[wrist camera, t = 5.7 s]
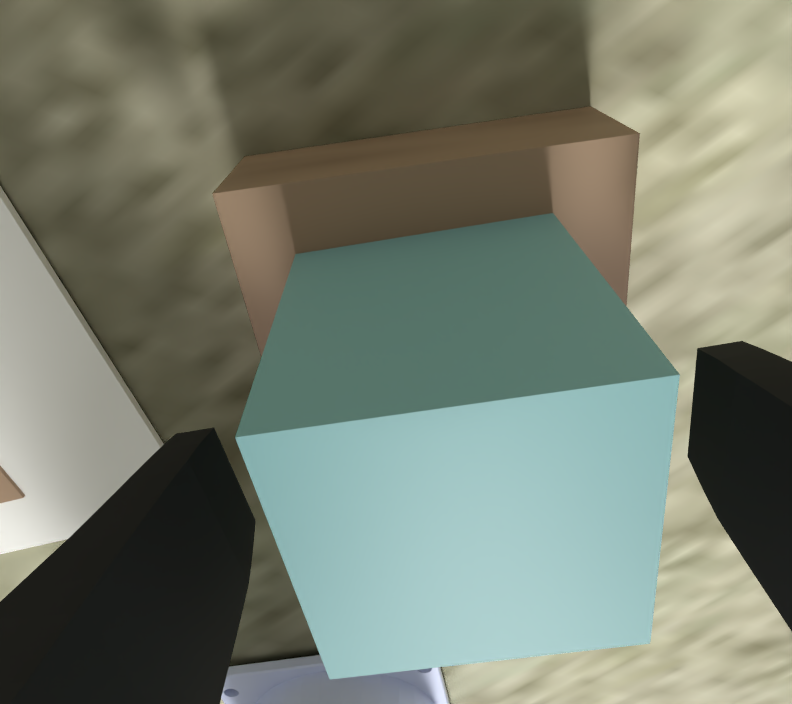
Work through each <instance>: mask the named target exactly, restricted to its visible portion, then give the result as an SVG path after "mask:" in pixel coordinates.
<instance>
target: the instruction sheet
mask: <svg viewBox="0 0 792 704" xmlns="http://www.w3.org/2000/svg"><path fill="white" fill-rule="evenodd" d="M163 445H164V443H163V442H162V440H161V439H160V437H159V436H158V434H157V432H156V431H155V429H154V428H153V426H152V425H151V423H150V421H149V420H148V418H147V417H146V415H145V414H144V412H143V410H142V409H141V407H140V406H139V404H138V402H137V401H136V399H135V398H134V396H133V395H132V393H131V391H130V390H129V388H128V387H127V385H126V384H125V382H124V380H123V379H122V377H121V376H120V374H119V372H118V371H117V369H116V368H115V366H114V365H113V363H112V361H111V360H110V358H109V357H108V355H107V354H106V352H105V350H104V349H103V347H102V346H101V344H100V342H99V341H98V339H97V338H96V336H95V335H94V333H93V331H92V330H91V328H90V327H89V325H88V324H87V322H86V320H85V319H84V317H83V316H82V314H81V313H80V311H79V309H78V308H77V306H76V305H75V303H74V301H73V300H72V298H71V297H70V295H69V294H68V292H67V290H66V289H65V287H64V286H63V284H62V283H61V281H60V279H59V278H58V276H57V275H56V273H55V271H54V270H53V268H52V267H51V265H50V264H49V262H48V260H47V259H46V257H45V256H44V254H43V253H42V251H41V249H40V248H39V246H38V245H37V243H36V241H35V240H34V238H33V237H32V235H31V234H30V232H29V230H28V229H27V227H26V226H25V224H24V223H23V221H22V219H21V218H20V216H19V215H18V213H17V212H16V210H15V208H14V207H13V205H12V204H11V202H10V200H9V199H8V197H7V196H6V194H5V193H4V191H3V189H2V188H1V186H0V554H3V553H8V552H12V551H17V550H21V549H25V548H30V547H34V546H39V545H43V544H48V543H52V542H57V541H61V540H66V539H69V538H70V537H71V536H72V535H73V534H74V533H75V532H76V531H77V530H78V529H79V528H80V527H81V526H82V525H83V524H84V523H85V522H86V521H87V520H88V519H89V518H90V517H91V516H92V515H93V514H94V513H95V512H96V511H97V510H98V509H99V508H100V507H101V506H102V505H103V504H104V503H105V502H106V501H107V500H108V499H109V498H110V497H111V496H112V495H113V494H114V493H115V492H116V491H117V490H118V489H119V488H120V487H121V486H122V485H123V484H124V483H125V482H126V481H127V480H128V479H129V478H130V477H131V476H132V475H133V474H134V473H135V472H136V471H137V470H138V469H139V468H140V467H141V466H142V465H143V464H144V463H145V462H146V461H147V460H148V459H149V458H150V457H151V456H152V455H153V454H154V453H155V452H156V451H157V450H159V449H160V448H161V447H162V446H163Z"/></svg>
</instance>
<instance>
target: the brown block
mask: <svg viewBox="0 0 792 704" xmlns="http://www.w3.org/2000/svg"><path fill="white" fill-rule="evenodd" d="M639 136H640V133H638V132H636V131H634V130H633V129H631V128H629V127H627V126H625V125H624V124H622V123H620V122H618V121H616V120H614V119H613V118H611V117H609V116H607V115H605V114H604V113H602V112H600V111H598V110H596V109H595V108H593V107H591V106H589V107H583V108H576V109H569V110H562V111H555V112H548V113H541V114H534V115H527V116H520V117H513V118H506V119H500V120H493V121H486V122H479V123H472V124H465V125H458V126H451V127H444V128H437V129H430V130H424V131H417V132H410V133H403V134H396V135H389V136H382V137H375V138H368V139H361V140H354V141H347V142H341V143H334V144H327V145H320V146H313V147H306V148H299V149H292V150H285V151H278V152H271V153H264V154H258V155H251V156H244V158H243V159H242V160H241V161H240V162H239V163H238V165H237V166H236V167H235V168H234V169H233V170H232V171H231V173H230V174H229V175H228V176H227V177H226V178H225V180H224V181H223V182H222V183H221V184H220V185H219V187H218V188H217V189H216V190H215V191H214V192H213V193H212V194H213V198H214V201H215V204H216V208H217V211H218V214H219V218H220V221H221V224H222V228H223V231H224V234H225V238H226V241H227V244H228V248H229V251H230V254H231V258H232V261H233V264H234V268H235V271H236V274H237V278H238V281H239V284H240V288H241V291H242V294H243V298H244V301H245V304H246V308H247V311H248V314H249V318H250V321H251V324H252V328H253V331H254V334H255V338H256V341H257V344H258V348H259V351H260V354H261V357H262V354H263V351H264V348H265V345H266V342H267V339H268V336H269V333H270V330H271V327H272V324H273V321H274V318H275V315H276V312H277V309H278V306H279V303H280V300H281V297H282V294H283V291H284V288H285V285H286V281H287V278H288V275H289V272H290V269H291V266H292V263H293V260H294V257H295V254H299V253H306V252H312V251H318V250H324V249H331V248H337V247H343V246H349V245H355V244H362V243H368V242H374V241H380V240H387V239H393V238H399V237H405V236H411V235H418V234H424V233H430V232H436V231H443V230H449V229H455V228H461V227H467V226H474V225H480V224H486V223H493V222H499V221H505V220H512V219H518V218H524V217H531V216H537V215H543V214H550V213H553V214H554V215H555V216H556V217H557V219H558V220H559V221H560V222H561V224H562V225H563V226H564V228H565V229H566V230H567V231H568V233H569V234H570V235H571V237H572V238H573V239H574V240H575V242H576V243H577V244H578V245H579V247H580V248H581V249H582V251H583V252H584V253H585V254H586V256H587V257H588V258H589V260H590V261H591V262H592V263H593V265H594V266H595V267H596V268H597V270H598V271H599V272H600V274H601V275H602V276H603V277H604V279H605V280H606V281H607V283H608V284H609V285H610V286H611V288H612V289H613V290H614V291H615V293H616V294H617V295H618V297H619V298H620V299H621V300H622V302H623V303H624V304H625V305H626V304H627V291H628V278H629V265H630V252H631V239H632V226H633V214H634V201H635V188H636V175H637V162H638V149H639Z"/></svg>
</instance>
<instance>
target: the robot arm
mask: <svg viewBox="0 0 792 704" xmlns="http://www.w3.org/2000/svg"><path fill="white" fill-rule="evenodd" d="M688 458H689V460H690V462H691V464H692V467H693V469H694V471H695V473H696V475H697V477H698V480H699V482H700V484H701V486H702V488H703V490H704V492H705V494H706V496H707V498H708V500H709V502H710V504H711V506H712V508H713V510H714V512H715V514H716V516H717V518H718V519H719V521H720V523H721V524H722V526H723V527H724V529H725V530H726V532H727V534H728V535H729V537H730V538H731V540H732V541H733V543H734V544H735V546H736V547H737V549H738V550H739V552H740V554H741V555H742V557H743V558H744V560H745V561H746V563H747V564H748V566H749V567H750V569H751V570H752V572H753V573H754V575H755V576H756V578H757V579H758V581H759V582H760V584H761V585H762V587H763V589H764V590H765V592H766V593H767V595H768V596H769V598H770V599H771V601H772V602H773V604H774V605H775V607H776V608H777V610H778V611H779V613H780V614H781V616H782V617H783V619H784V620H785V622H786V623H787V625H788V626H789V628H790V629H791V631H792V362H791V361H789V360H786V359H784V358H782V357H780V356H777V355H775V354H773V353H770V352H768V351H766V350H763V349H761V348H759V347H756V346H753V345H751V344H748V343H746V342H743V341H739V342H733V343H727V344H721V345H715V346H709V347H703V348H698V349H697V360H696V371H695V381H694V392H693V403H692V414H691V425H690V436H689V447H688ZM254 532H255V518H254V516H253V514H252V512H251V510H250V507H249V505H248V503H247V501H246V498H245V496H244V494H243V492H242V489H241V487H240V485H239V483H238V480H237V478H236V476H235V474H234V471H233V469H232V467H231V465H230V463H229V460H228V458H227V456H226V454H225V451H224V449H223V447H222V445H221V442H220V440H219V438H218V436H217V433H216V431H215V429H214V428H209V429H203V430H197V431H190V432H184V433H178V434H175V435H174V436H173V437H172V438H171V439H170V440H168V441H167V442H166V443H165V444H164V445H163V446H162V447H161V448H160V449H159V450H157V451H156V452H155V453H154V454H153V455H152V456H151V457H150V458H149V459H148V460H147V461H146V462H145V463H144V464H143V465H142V466H141V467H140V468H139V469H138V470H137V471H136V472H135V473H134V474H133V475H132V476H131V477H130V478H129V479H128V480H127V481H126V482H125V483H124V484H123V485H122V486H121V487H120V488H119V489H118V490H117V491H116V492H115V493H114V494H113V495H112V496H111V497H110V498H109V499H108V500H107V501H106V502H105V503H104V504H103V505H102V506H101V507H100V508H99V509H98V510H97V511H96V512H95V513H94V514H93V515H92V516H91V517H90V518H89V519H88V520H87V521H86V522H85V523H84V524H83V525H82V526H81V527H80V528H79V529H78V530H77V531H76V532H75V533H74V534H73V535H72V536H71V537H70V538H69V539H67V540H66V541H65V542H64V543H63V544H62V545H61V546H60V547H59V548H58V549H57V550H56V551H55V552H54V553H53V554H51V555H50V556H49V557H48V558H47V559H46V560H45V561H44V562H43V563H42V564H41V565H40V566H38V567H37V568H36V569H35V570H34V571H33V572H32V573H31V574H30V575H29V576H28V577H27V578H26V579H24V580H23V581H22V582H21V583H20V584H19V585H18V586H17V587H16V588H15V589H14V590H13V591H12V592H10V593H9V594H8V595H7V596H6V597H5V598H4V599H3V600H2V601H1V602H0V704H220V700H221V698H222V700H223V702H224V703H225V704H450V702H449V698H448V694H447V690H446V687H445V683H444V679H443V675H442V671H441V667H437V668H428V669H419V670H410V671H401V672H392V673H383V674H375V675H366V676H357V677H348V678H339V679H329V677H328V674H327V672H326V669H325V667H324V664H323V661H322V659H321V656H320V655H315V656H307V657H299V658H291V659H284V660H276V661H268V662H260V663H253V664H245V665H237V666H229V664H230V660H231V656H232V651H233V647H234V643H235V639H236V635H237V631H238V627H239V623H240V619H241V614H242V610H243V606H244V602H245V597H246V593H247V589H248V584H249V577H250V569H251V561H252V553H253V542H254Z"/></svg>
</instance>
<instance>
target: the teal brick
mask: <svg viewBox="0 0 792 704" xmlns="http://www.w3.org/2000/svg"><path fill="white" fill-rule="evenodd" d="M679 377H680V374H679V373H678V372H677V371H676V369H675V368H674V367H673V366H672V364H671V363H670V362H669V360H668V359H667V358H666V357H665V355H664V354H663V353H662V351H661V350H660V349H659V348H658V346H657V345H656V344H655V343H654V341H653V340H652V339H651V337H650V336H649V335H648V334H647V332H646V331H645V330H644V328H643V327H642V326H641V325H640V323H639V322H638V321H637V320H636V318H635V317H634V316H633V314H632V313H631V312H630V311H629V309H628V308H627V307H626V305H625V304H624V303H623V302H622V300H621V299H620V298H619V297H618V295H617V294H616V293H615V291H614V290H613V289H612V288H611V286H610V285H609V284H608V283H607V281H606V280H605V279H604V277H603V276H602V275H601V274H600V272H599V271H598V270H597V268H596V267H595V266H594V265H593V263H592V262H591V261H590V260H589V258H588V257H587V256H586V254H585V253H584V252H583V251H582V249H581V248H580V247H579V245H578V244H577V243H576V242H575V240H574V239H573V238H572V237H571V235H570V234H569V233H568V231H567V230H566V229H565V228H564V226H563V225H562V224H561V222H560V221H559V220H558V219H557V217H556V216H555V215H554V214H553V213H550V214H543V215H537V216H531V217H524V218H518V219H512V220H505V221H499V222H493V223H486V224H480V225H474V226H467V227H461V228H455V229H449V230H443V231H436V232H430V233H424V234H418V235H411V236H405V237H399V238H393V239H387V240H380V241H374V242H368V243H362V244H355V245H349V246H343V247H337V248H331V249H324V250H318V251H312V252H306V253H299V254H295V257H294V260H293V263H292V266H291V269H290V272H289V275H288V278H287V281H286V285H285V288H284V291H283V294H282V297H281V300H280V303H279V306H278V309H277V312H276V315H275V318H274V321H273V324H272V327H271V330H270V333H269V336H268V339H267V342H266V345H265V348H264V351H263V354H262V357H261V360H260V363H259V366H258V369H257V372H256V375H255V378H254V382H253V385H252V388H251V391H250V394H249V397H248V400H247V403H246V406H245V409H244V412H243V415H242V418H241V421H240V424H239V427H238V430H237V433H236V436H235V439H236V441H237V444H238V446H239V449H240V451H241V454H242V457H243V459H244V462H245V464H246V467H247V469H248V472H249V474H250V477H251V480H252V482H253V485H254V487H255V490H256V492H257V495H258V497H259V500H260V503H261V505H262V508H263V510H264V513H265V515H266V518H267V521H268V523H269V526H270V528H271V531H272V533H273V536H274V538H275V541H276V544H277V546H278V549H279V551H280V554H281V556H282V559H283V562H284V564H285V567H286V569H287V572H288V574H289V577H290V579H291V582H292V585H293V587H294V590H295V592H296V595H297V597H298V600H299V602H300V605H301V608H302V610H303V613H304V615H305V618H306V620H307V623H308V626H309V628H310V631H311V633H312V636H313V638H314V641H315V643H316V646H317V649H318V651H319V654H320V656H321V659H322V661H323V664H324V667H325V669H326V672H327V674H328V677H329V679H339V678H348V677H357V676H366V675H375V674H383V673H392V672H401V671H410V670H419V669H428V668H437V667H446V666H455V665H463V664H472V663H481V662H490V661H499V660H508V659H517V658H526V657H535V656H543V655H552V654H561V653H570V652H579V651H588V650H597V649H606V648H615V647H624V646H632V645H641V644H650V640H651V631H652V622H653V613H654V603H655V594H656V585H657V576H658V567H659V558H660V549H661V540H662V531H663V522H664V513H665V504H666V495H667V486H668V476H669V467H670V458H671V449H672V440H673V431H674V422H675V413H676V404H677V395H678V386H679Z"/></svg>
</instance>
